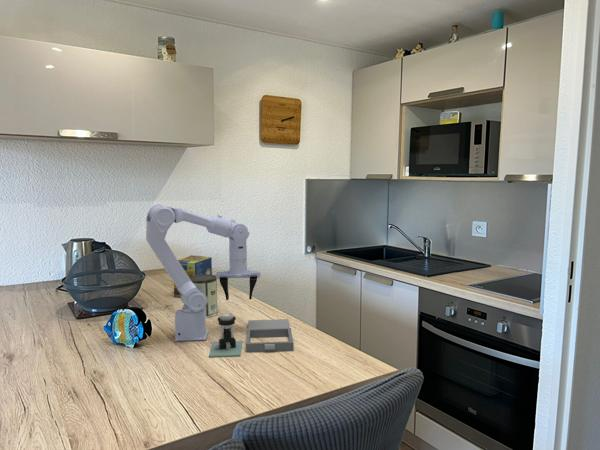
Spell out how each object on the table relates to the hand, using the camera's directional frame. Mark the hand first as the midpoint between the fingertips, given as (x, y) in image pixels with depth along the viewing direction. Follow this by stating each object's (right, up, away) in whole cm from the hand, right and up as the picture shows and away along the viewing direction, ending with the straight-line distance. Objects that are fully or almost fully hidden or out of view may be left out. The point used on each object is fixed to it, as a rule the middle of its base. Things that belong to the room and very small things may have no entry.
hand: (239, 298), depth 153 cm
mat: (-2, -12, -17) cm, 21 cm away
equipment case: (+10, -11, -6) cm, 16 cm away
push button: (-2, -12, -17) cm, 21 cm away
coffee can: (-16, -9, +18) cm, 25 cm away
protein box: (-26, -6, +47) cm, 54 cm away
